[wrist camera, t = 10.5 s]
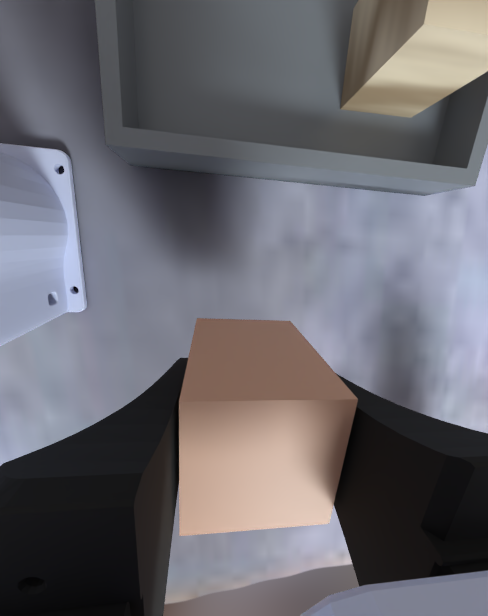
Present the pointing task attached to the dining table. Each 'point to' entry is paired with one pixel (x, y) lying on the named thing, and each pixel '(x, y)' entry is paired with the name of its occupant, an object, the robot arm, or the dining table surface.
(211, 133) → the slate tray
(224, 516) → the terracotta block
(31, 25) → the dining table surface
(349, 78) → the beech block
